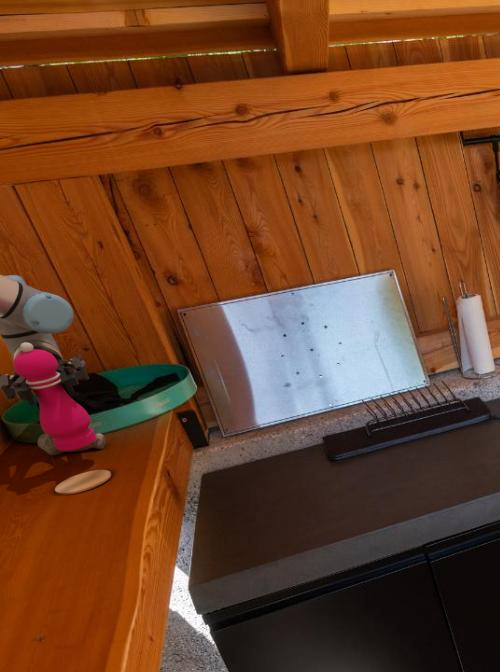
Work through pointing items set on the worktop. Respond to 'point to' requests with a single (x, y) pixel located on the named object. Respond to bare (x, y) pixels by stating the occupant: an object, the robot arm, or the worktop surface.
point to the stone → (48, 445)
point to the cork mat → (83, 482)
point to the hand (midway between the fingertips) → (49, 392)
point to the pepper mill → (54, 400)
